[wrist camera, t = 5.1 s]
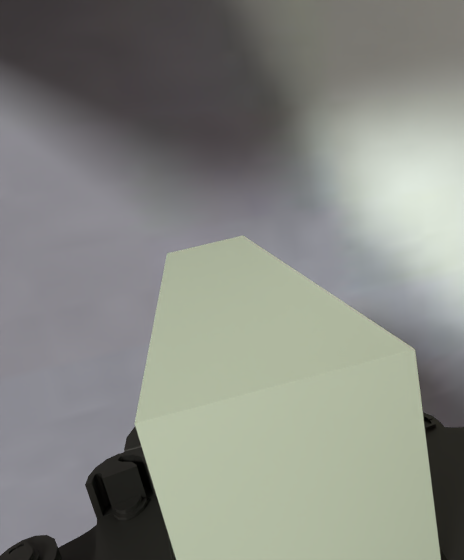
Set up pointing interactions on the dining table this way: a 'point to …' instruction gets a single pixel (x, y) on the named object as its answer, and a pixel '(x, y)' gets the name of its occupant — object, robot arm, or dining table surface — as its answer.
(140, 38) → the dining table surface
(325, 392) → the pale green rectangular block
